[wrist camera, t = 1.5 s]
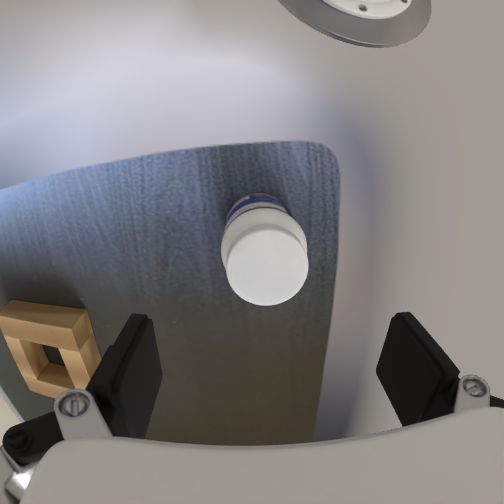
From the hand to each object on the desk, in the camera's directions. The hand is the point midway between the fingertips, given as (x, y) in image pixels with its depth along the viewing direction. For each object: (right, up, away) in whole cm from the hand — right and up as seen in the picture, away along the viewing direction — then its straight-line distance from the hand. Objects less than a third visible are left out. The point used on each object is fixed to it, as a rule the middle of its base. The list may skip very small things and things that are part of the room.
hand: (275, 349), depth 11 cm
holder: (-26, -9, +20) cm, 34 cm away
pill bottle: (0, +6, +15) cm, 17 cm away
